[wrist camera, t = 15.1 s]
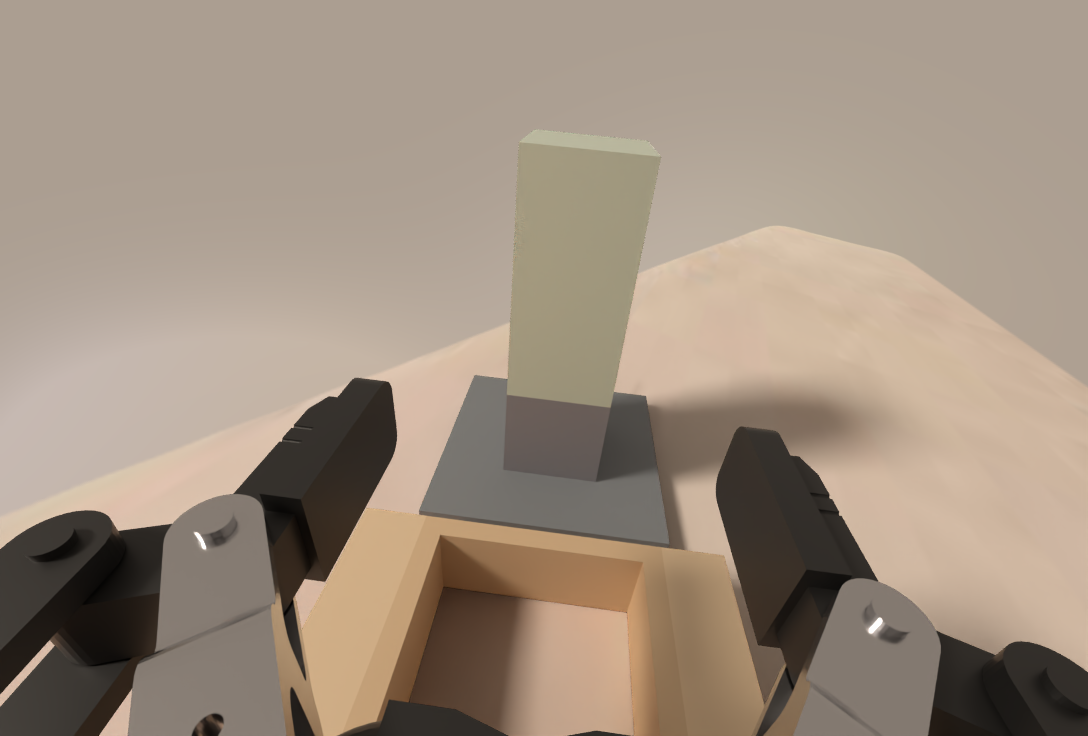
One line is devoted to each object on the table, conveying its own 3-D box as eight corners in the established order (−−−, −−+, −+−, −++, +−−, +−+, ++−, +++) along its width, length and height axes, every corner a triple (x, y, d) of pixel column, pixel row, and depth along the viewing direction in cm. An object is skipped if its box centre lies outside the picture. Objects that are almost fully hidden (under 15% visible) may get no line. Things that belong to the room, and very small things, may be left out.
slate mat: (642, 407, 32) (645, 396, 32) (664, 557, 22) (669, 543, 22) (474, 386, 33) (474, 375, 32) (420, 524, 23) (418, 510, 22)
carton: (700, 604, 20) (724, 555, 18) (771, 955, 12) (825, 931, 10) (376, 560, 21) (366, 508, 19) (235, 867, 13) (194, 829, 11)
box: (595, 423, 29) (647, 140, 20) (595, 481, 25) (661, 156, 16) (516, 413, 29) (535, 129, 20) (503, 469, 25) (519, 141, 16)
